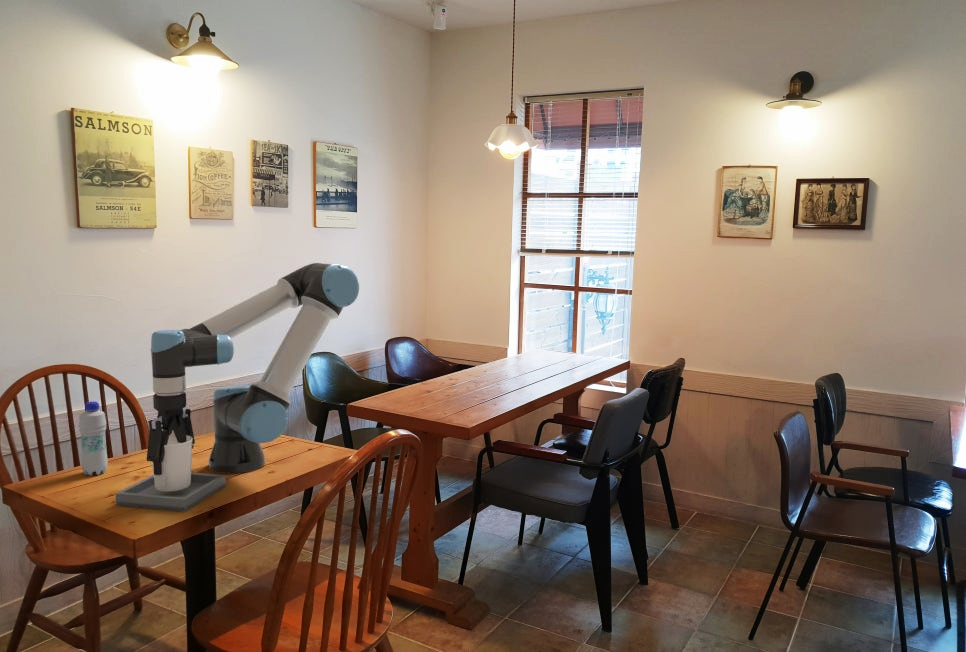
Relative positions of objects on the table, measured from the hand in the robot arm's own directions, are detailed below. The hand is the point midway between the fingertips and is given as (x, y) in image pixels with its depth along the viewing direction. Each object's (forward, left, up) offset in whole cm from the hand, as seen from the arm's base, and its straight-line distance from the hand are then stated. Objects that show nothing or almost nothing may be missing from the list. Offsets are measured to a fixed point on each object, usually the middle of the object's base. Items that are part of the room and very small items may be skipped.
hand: (172, 480), depth 183 cm
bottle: (-11, -31, -4) cm, 33 cm away
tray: (0, 0, -4) cm, 4 cm away
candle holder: (0, 0, -2) cm, 2 cm away
